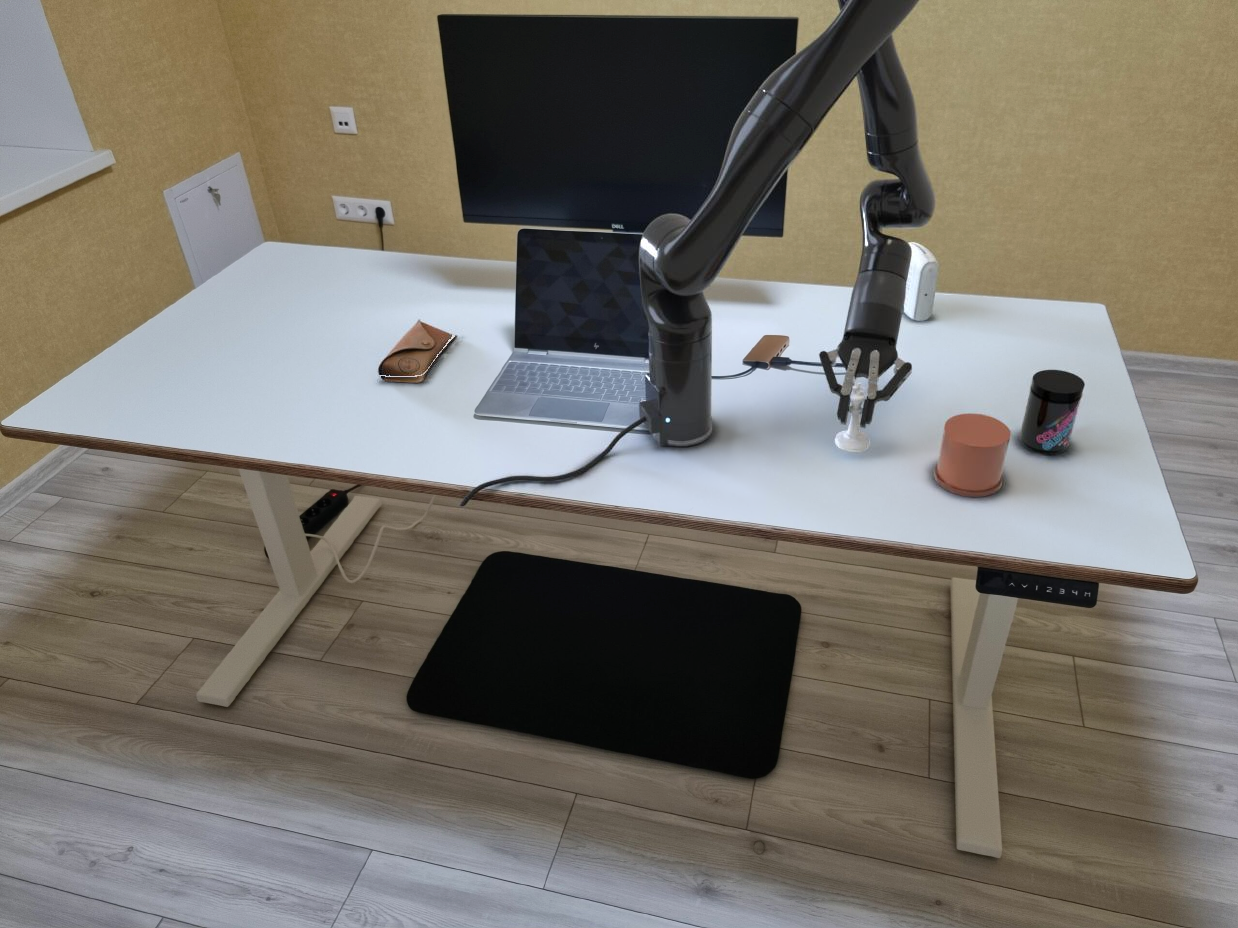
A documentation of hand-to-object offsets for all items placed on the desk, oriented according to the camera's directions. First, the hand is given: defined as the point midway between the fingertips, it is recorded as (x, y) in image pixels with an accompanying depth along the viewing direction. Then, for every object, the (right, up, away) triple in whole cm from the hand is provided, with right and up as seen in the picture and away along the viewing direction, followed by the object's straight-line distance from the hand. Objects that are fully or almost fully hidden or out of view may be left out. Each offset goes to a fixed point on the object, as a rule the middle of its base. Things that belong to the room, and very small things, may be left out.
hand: (853, 424), depth 131 cm
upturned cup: (+15, -8, -2) cm, 17 cm away
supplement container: (+29, -3, +4) cm, 29 cm away
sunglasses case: (-69, +13, +36) cm, 79 cm away
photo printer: (+21, +23, +42) cm, 53 cm away
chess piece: (+1, -3, +4) cm, 5 cm away
